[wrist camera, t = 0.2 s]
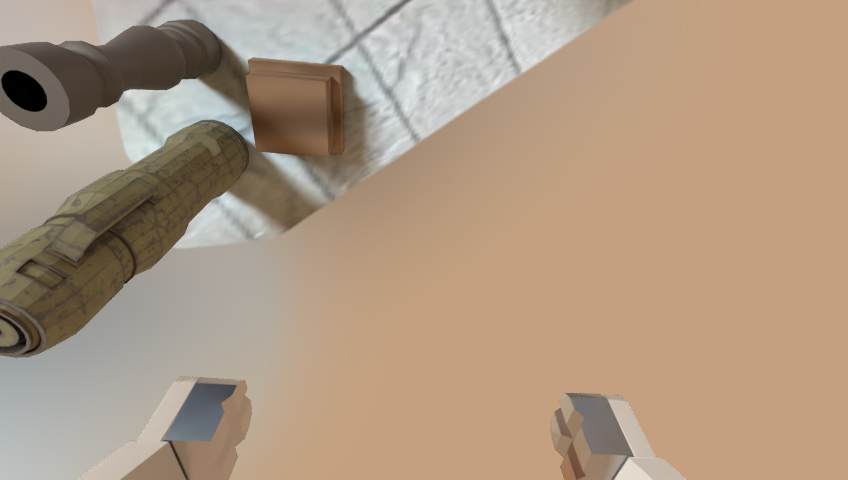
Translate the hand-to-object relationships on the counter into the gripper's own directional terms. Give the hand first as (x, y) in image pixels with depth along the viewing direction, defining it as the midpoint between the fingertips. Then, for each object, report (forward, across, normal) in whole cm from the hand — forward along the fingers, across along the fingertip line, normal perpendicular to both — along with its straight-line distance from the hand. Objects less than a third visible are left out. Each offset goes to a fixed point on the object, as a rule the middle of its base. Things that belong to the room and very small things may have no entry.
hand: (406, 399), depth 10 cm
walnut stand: (+48, +15, +5) cm, 50 cm away
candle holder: (+48, +27, -1) cm, 55 cm away
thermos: (+48, +27, +12) cm, 56 cm away
